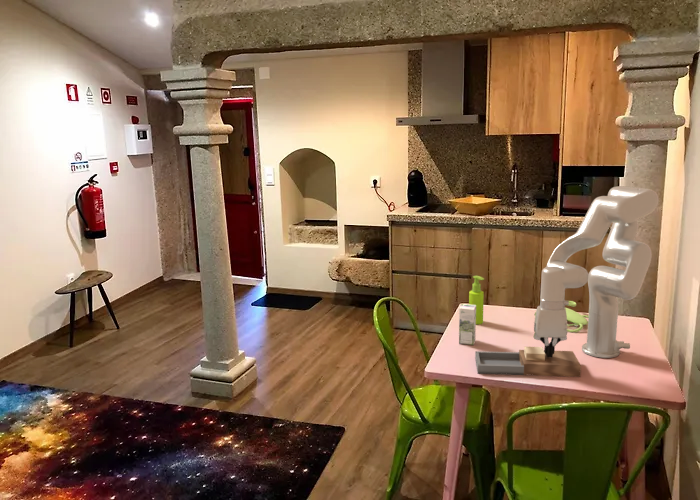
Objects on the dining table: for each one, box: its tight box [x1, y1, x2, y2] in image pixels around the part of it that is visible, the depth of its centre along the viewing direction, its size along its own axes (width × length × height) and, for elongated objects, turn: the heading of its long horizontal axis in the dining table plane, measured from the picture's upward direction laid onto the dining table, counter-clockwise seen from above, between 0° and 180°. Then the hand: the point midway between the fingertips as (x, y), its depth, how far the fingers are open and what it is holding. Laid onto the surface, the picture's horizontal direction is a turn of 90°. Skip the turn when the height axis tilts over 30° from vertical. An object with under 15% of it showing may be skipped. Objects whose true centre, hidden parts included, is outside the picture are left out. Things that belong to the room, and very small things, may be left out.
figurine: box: [534, 300, 589, 333], centre depth 242 cm, size 18×27×6 cm
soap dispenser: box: [468, 275, 485, 326], centre depth 241 cm, size 6×7×20 cm
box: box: [474, 350, 525, 376], centre depth 200 cm, size 15×12×3 cm
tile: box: [523, 346, 545, 361], centre depth 198 cm, size 6×6×2 cm
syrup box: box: [458, 303, 477, 346], centre depth 221 cm, size 6×6×14 cm
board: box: [518, 349, 582, 378], centre depth 198 cm, size 18×12×4 cm, turn 82°
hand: (549, 355), depth 197 cm, fingers closed
